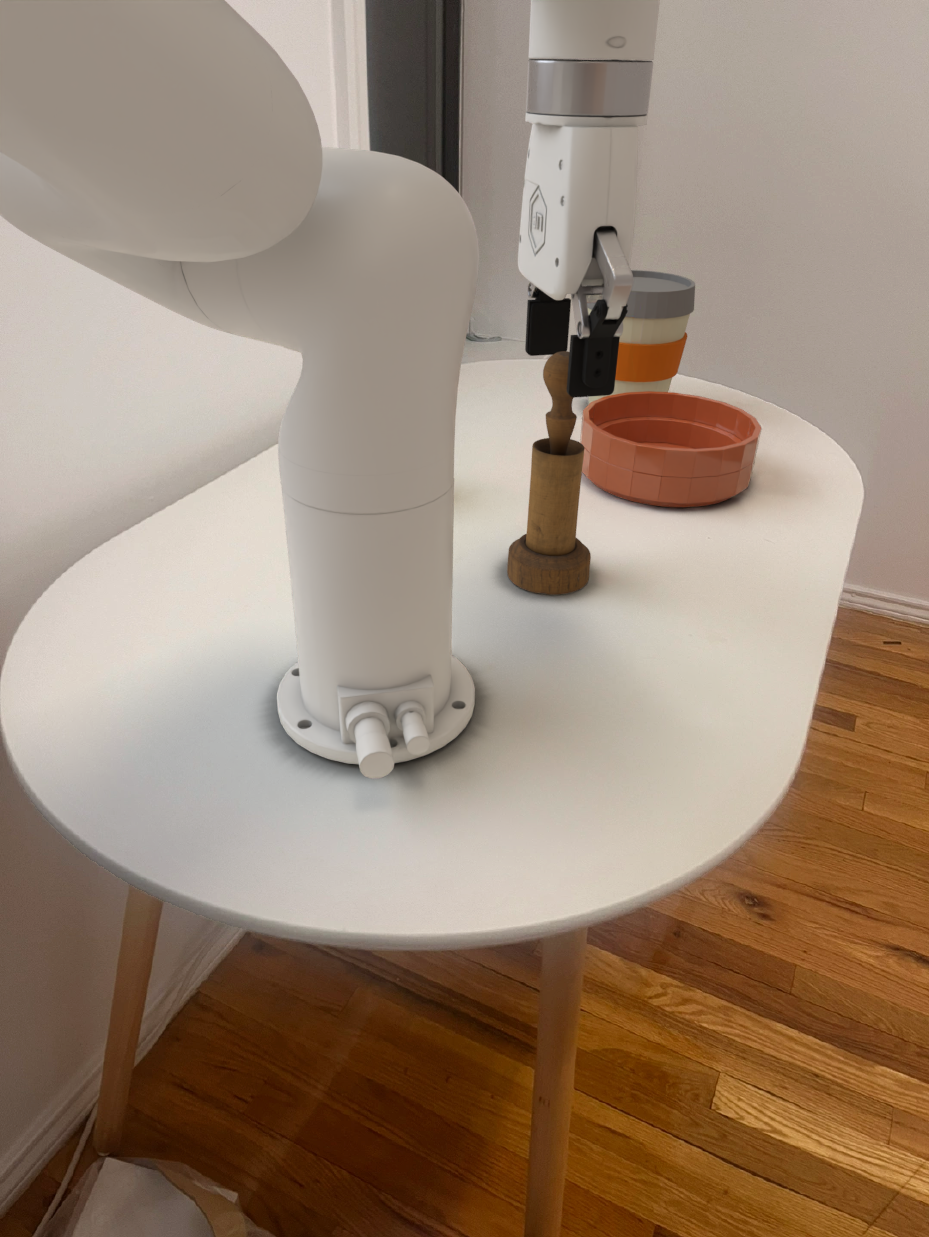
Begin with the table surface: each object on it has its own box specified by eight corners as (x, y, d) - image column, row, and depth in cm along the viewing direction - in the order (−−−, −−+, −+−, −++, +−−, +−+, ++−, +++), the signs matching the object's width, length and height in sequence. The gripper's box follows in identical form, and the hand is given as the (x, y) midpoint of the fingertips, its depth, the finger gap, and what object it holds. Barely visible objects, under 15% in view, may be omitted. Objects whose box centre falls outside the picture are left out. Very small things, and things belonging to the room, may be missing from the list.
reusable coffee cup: (679, 399, 111) (699, 274, 103) (675, 432, 101) (696, 296, 93) (581, 389, 114) (592, 266, 106) (566, 420, 104) (578, 287, 96)
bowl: (781, 503, 85) (795, 444, 82) (613, 517, 81) (621, 456, 78) (701, 440, 99) (710, 387, 96) (556, 450, 96) (560, 395, 92)
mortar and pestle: (587, 560, 74) (611, 343, 65) (589, 599, 69) (615, 369, 59) (509, 554, 75) (521, 339, 65) (504, 593, 69) (516, 364, 60)
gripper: (492, 90, 60) (486, 343, 70) (575, 103, 46) (553, 418, 55) (596, 91, 62) (576, 338, 71) (707, 104, 48) (664, 410, 57)
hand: (566, 373), depth 63 cm, fingers open, 9 cm apart
